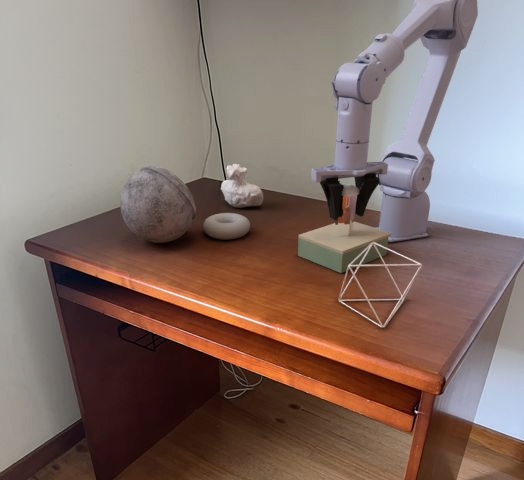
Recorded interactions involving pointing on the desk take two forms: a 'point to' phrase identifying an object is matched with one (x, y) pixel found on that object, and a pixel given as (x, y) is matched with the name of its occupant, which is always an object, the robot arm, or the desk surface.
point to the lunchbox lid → (344, 237)
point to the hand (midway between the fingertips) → (346, 216)
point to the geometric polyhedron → (389, 274)
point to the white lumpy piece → (240, 188)
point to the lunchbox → (339, 255)
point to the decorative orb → (157, 205)
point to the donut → (226, 226)
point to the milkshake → (347, 210)
